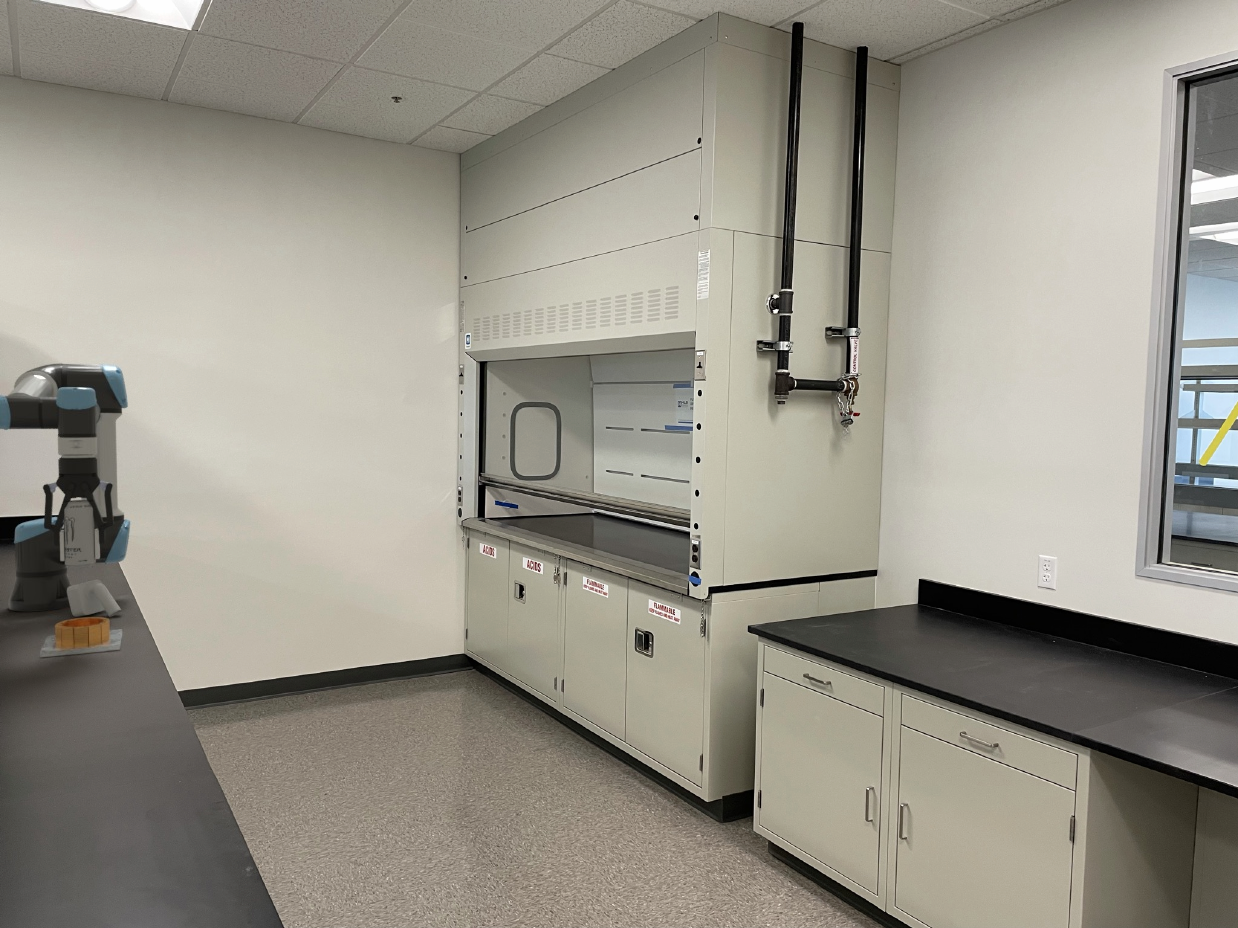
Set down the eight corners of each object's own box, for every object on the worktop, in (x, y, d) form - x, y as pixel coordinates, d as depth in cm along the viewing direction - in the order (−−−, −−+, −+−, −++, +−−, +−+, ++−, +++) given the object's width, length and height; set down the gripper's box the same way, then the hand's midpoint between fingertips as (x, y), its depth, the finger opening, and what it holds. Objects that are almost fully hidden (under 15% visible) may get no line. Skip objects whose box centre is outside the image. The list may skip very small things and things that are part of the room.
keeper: (47, 640, 208) (47, 618, 208) (122, 634, 215) (121, 612, 214) (40, 657, 195) (39, 633, 194) (119, 649, 201) (119, 626, 201)
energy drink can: (58, 568, 202) (56, 501, 202) (83, 564, 208) (81, 499, 207) (78, 570, 200) (76, 502, 200) (102, 565, 206) (100, 500, 205)
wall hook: (108, 618, 228) (99, 579, 227) (74, 625, 230) (65, 586, 230) (131, 611, 236) (123, 573, 235) (98, 618, 238) (90, 580, 238)
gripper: (25, 457, 195) (28, 564, 197) (125, 456, 204) (127, 558, 205) (29, 456, 202) (32, 559, 203) (126, 455, 210) (128, 554, 212)
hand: (80, 558), depth 204 cm, fingers closed on energy drink can, 6 cm apart
